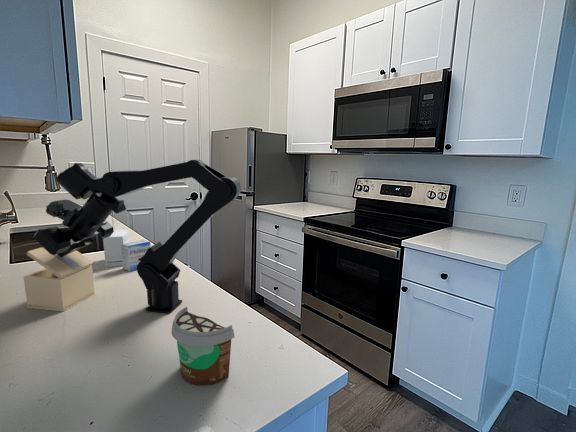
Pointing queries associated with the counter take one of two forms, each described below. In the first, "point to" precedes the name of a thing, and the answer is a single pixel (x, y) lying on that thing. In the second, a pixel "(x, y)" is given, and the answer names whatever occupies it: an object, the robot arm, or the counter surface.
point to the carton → (58, 289)
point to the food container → (202, 348)
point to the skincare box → (115, 247)
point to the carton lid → (60, 261)
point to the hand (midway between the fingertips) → (60, 255)
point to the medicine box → (133, 253)
